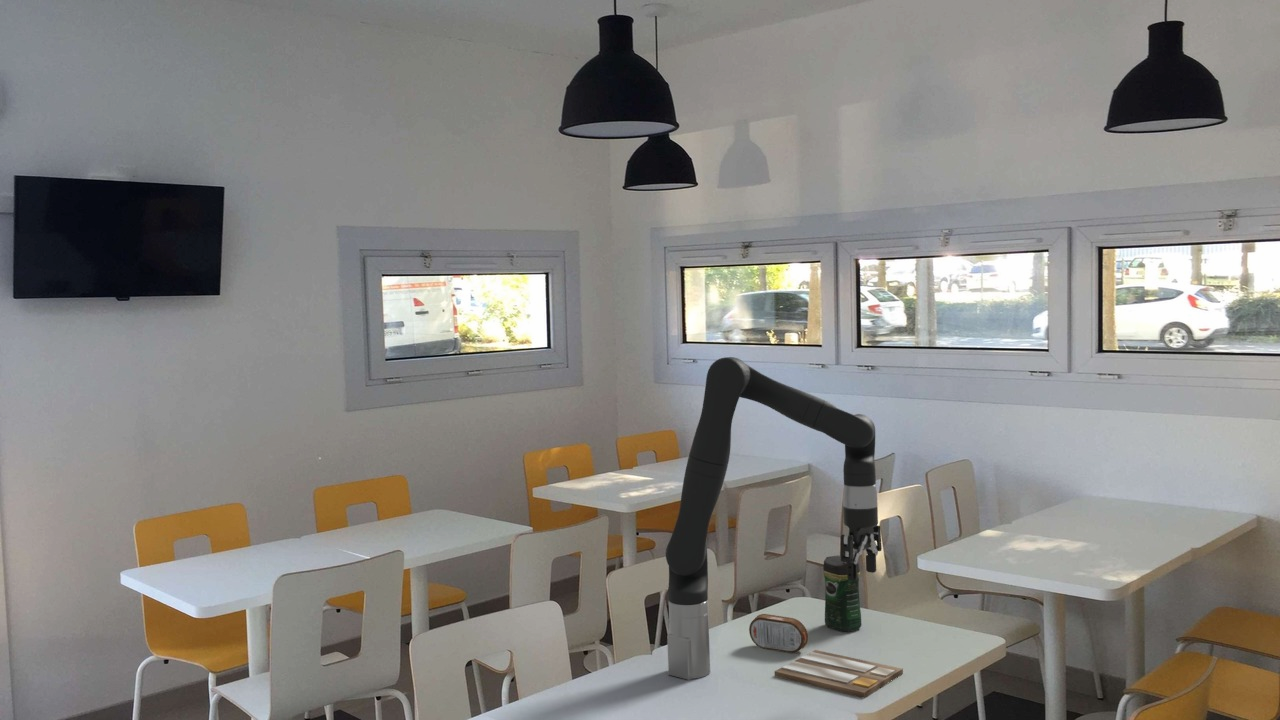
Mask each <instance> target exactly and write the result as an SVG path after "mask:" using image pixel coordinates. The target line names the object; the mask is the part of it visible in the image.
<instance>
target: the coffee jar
mask: <svg viewBox="0 0 1280 720" xmlns="http://www.w3.org/2000/svg"><path fill="white" fill-rule="evenodd" d="M822 567H823V568H822V571H823V577H824V585H825V589H824V591H825V592H824V593H825V594H824V595H825V596H824V597H825V599H824V624H825V626H827V627H828V628H831V629H833V630H837V631H840V632H843V631H845V632H846V631H847V632H848V631H849V632H854V631H856V630H858V629H860V628H861V627H862V611H861V601H860V587H859V586H860V585H859V584H860V577H861V571H860V570H861V568H860V563H859V562H858V561H857V568H858V579H857V580H856V581H852V580H848V578H847V563H845V562H842V561H841V555H838V554H837V555H831V556H827V557H826V558H825V559H824V561H823V566H822Z"/></svg>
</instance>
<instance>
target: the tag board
mask: <svg viewBox="0 0 1280 720" xmlns="http://www.w3.org/2000/svg"><path fill="white" fill-rule="evenodd" d="M903 669H904V668H901V667H897V666H892V665H887V664H882V663H878V662H874V661H868V660H863V659H860V658H854V657H850V656H845V655H840V654H837V653H831V652H826V651H822V650H818V649H814V650H812V651H811V652H809V653H806V654H805V655H803V656H801V657H799V658H797V659H795V660H794V661H791V662H790V663H788V664H786V665H784V666H782V667H779V668H778V669H776V670H774V677H776V678H780V679H783V680H789V681H792V682H797V683H801V684H805V685H809V686H814V687H817V688H820V689H821V688H822V689H826V690H828V691H829V690H830V691H833V692H837V693H842V694H846V695H851V696H853V697H854V696H855V697H857V698H863V699H865V698H867V697H869V696H871V695H872V694H873V693H875V692H876V691H878V690H880V689H881V688H883V687H885V686H886V685H888V684H889V683H891V682H892V681H894V680H895V678H896V677H897V678H899V677H900V676H902V675H903V674H904V670H903ZM901 674H902V675H901ZM899 675H900V676H899ZM898 676H899V677H898ZM897 678H896V679H897ZM893 679H894V680H893ZM891 680H892V681H891ZM890 681H891V682H890ZM888 682H889V683H888ZM887 683H888V684H887ZM885 684H886V685H885ZM882 686H883V687H882ZM880 687H881V688H880ZM879 688H880V689H879Z"/></svg>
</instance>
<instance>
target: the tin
mask: <svg viewBox="0 0 1280 720" xmlns="http://www.w3.org/2000/svg"><path fill="white" fill-rule="evenodd" d="M748 631H749V636H750V639H751V641H752V642H753V643H754V644H755V645H756V646H757V647H759V648H760V649H764V650H770V651H775V652H782V653H789V654H795V653H798V652H800V651H802V649H804V648H805V647H806V645H807V644H808V640H809V636H808V635H809V634H808V631H807V628H806V627H805V625H804V624H803V622H802V621H800V620H798V619H796V618H794V617H789V616H782V615H775V614H769V613H761V614H759V615H756V616H755V618H754V619H753V620H751V622H750V624H749V629H748Z"/></svg>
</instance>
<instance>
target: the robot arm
mask: <svg viewBox="0 0 1280 720" xmlns="http://www.w3.org/2000/svg"><path fill="white" fill-rule="evenodd" d="M740 398H742V399H747V400H749V401H753V402H756V403H758V404H761V405H763V406H765V407H768V408H770V409H772V410H774V411H776V412H777V413H779V414H781V415H782V416H784V417H786V418H788V419H790V420H792V421H793V422H796V423H798V424H800V425H803V426H805V427H807V428H810V429H811V430H815V431H817V432H821V433H822V434H825V435H826V436H828V437H830V438H832V439H834V440H835V441H837V442H839V443H841V444H843V445H844V455H845V457H844V462H843V470H842V471H843V491H842V504H843V505H842V511H843V513H842V514H843V525H844V526H846V527H848V534H841V535H840V556H841V561H842V562H845V563H847V578H848V580H852V581H856V580H857V579H858V568H857V562H858V561H859V558H860V556H862V554H863V552H865V554H866V555H865V571H866V572H867V573H872V574H873V573H874V574H875V573H876V572H877V556H878V554H879V552H881V551H882V549H883V548H882V533H881V531H882V529H881V525H878V523H879V515H878V514H879V513H878V511H879V509H878V507H879V505H878V492H877V491H878V490H877V479H876V477H877V476H876V463H875V453H876V450H875V449H876V427H875V423H874V422H873V420H872V419H871V418H870V417H869V416H867V415H866V414H862V413H856V414H852V413H849V412H848V411H845V410H843V409H840V408H838V407H837V406H836V405H835V404H833V403H831V402H830V401H828V400H825V399H823V398H820V397H818V396H815V395H813V394H811V393H809V392H805V391H802V390H800V389H797V388H795V387H793V386H789V385H786V384H784V383H781V382H779V381H777V380H775V379H773V378H771V377H768V376H767V375H765V374H763V373H761V372H760V371H758V370H756V369H755V368H753V367H752V366H750V365H749V364H747V363H745V362H744V361H743V360H741V359H740V358H738V357H732V356H729V357H721V358H718V359H716V360H715V361H714V362H713V363H712V364H711V365H710V366H709V369H708V370H707V373H706V379H705V389H704V393H703V403H702V408H701V412H700V413H701V414H700V418H699V421H698V422H697V423H698V424H697V427H696V430H695V433H694V435H693V441H692V443H691V447H690V451H689V453H688V458H687V463H686V466H685V470H684V475H683V476H684V477H683V483H682V489H681V496H680V504H679V505H680V506H679V510H678V514H677V515H678V516H677V519H676V522H675V525H674V529H673V531H672V534H671V536H670V539H669V542H668V544H667V545H666V548H665V560H666V563H667V565H668V589H667V597H668V619H669V620H668V624H669V626H668V628H669V634H667V636H666V637H667V666H668V667H667V668H668V675H669V676H673V677H677V678H680V679H683V680H688V681H690V680H692V679H700V678H703V677H706V676H708V675H709V674H710V673H711V658H710V656H711V652H710V651H711V650H710V649H711V648H710V627H709V626H710V625H709V624H710V623H709V621H710V620H709V598H708V597H709V596H708V595H709V593H708V590H709V570H708V568H709V567H708V566H709V565H708V563H709V561H708V547H707V537H708V529H709V526H710V522H711V518H712V515H713V512H714V509H715V507H716V505H717V502H718V499H719V497H720V494H721V492H722V487H723V485H724V483H725V482H724V481H725V479H726V475H727V471H728V467H729V462H730V455H731V444H732V443H731V442H732V423H733V418H734V416H735V411H736V409H737V405H738V402H739V400H740Z"/></svg>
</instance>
